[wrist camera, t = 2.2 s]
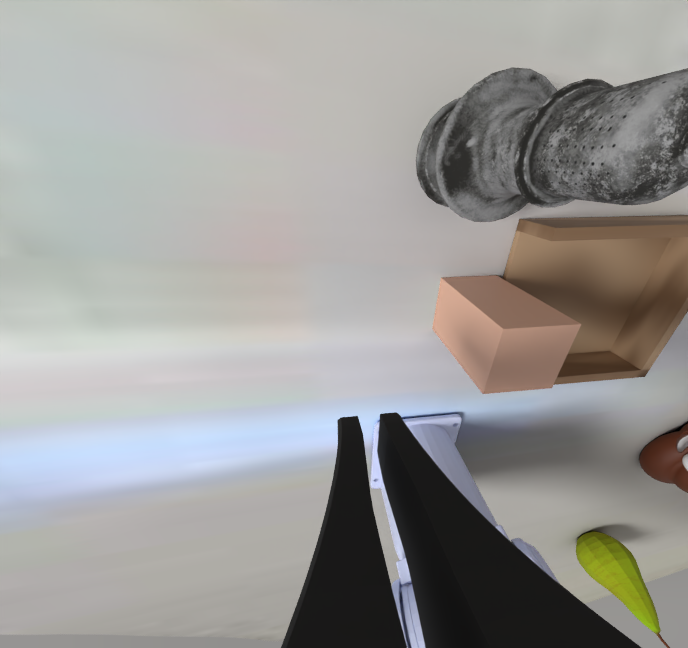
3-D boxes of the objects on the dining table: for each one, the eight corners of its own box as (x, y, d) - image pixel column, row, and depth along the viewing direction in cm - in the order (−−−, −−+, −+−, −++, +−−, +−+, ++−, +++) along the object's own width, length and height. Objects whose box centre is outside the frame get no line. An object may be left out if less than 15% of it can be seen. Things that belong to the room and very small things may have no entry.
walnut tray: (609, 354, 25) (644, 376, 22) (478, 364, 23) (499, 389, 21) (685, 215, 19) (745, 223, 16) (519, 219, 18) (555, 227, 15)
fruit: (593, 520, 41) (692, 642, 30) (615, 527, 43) (715, 644, 32) (557, 542, 43) (638, 663, 32) (580, 548, 45) (662, 663, 35)
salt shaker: (533, 147, 16) (956, 113, 6) (455, 232, 18) (664, 325, 7) (471, 56, 14) (989, -287, 3) (388, 164, 16) (556, 162, 5)
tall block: (482, 325, 22) (551, 387, 16) (432, 328, 21) (483, 393, 15) (496, 275, 20) (581, 324, 14) (441, 277, 19) (503, 329, 13)
